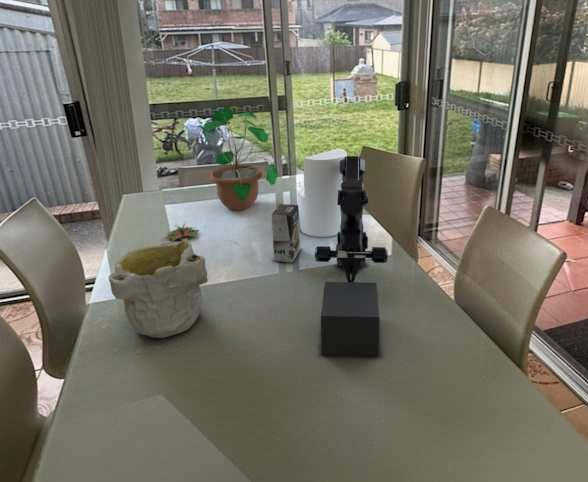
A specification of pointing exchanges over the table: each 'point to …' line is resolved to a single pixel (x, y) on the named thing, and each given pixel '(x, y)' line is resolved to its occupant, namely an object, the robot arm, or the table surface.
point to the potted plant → (237, 179)
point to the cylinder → (321, 194)
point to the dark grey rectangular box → (350, 319)
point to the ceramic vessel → (160, 287)
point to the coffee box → (286, 232)
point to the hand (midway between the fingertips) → (350, 287)
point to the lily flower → (181, 233)
